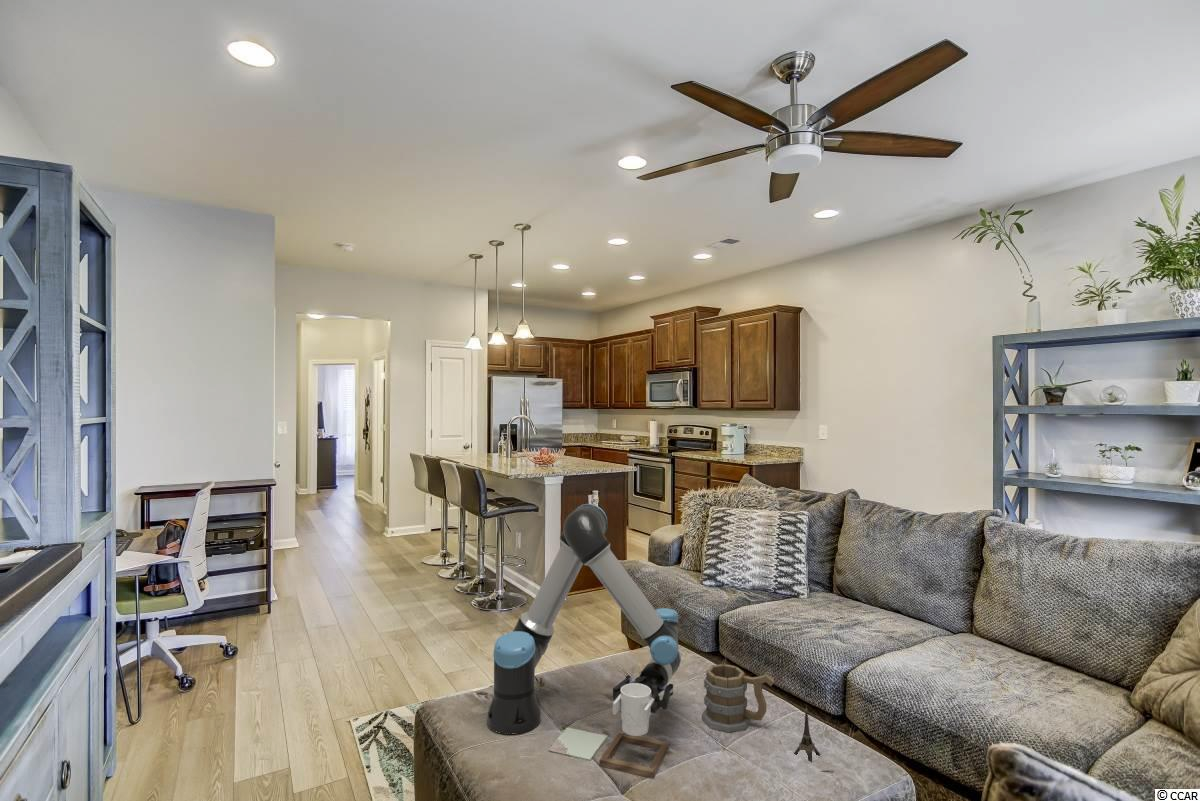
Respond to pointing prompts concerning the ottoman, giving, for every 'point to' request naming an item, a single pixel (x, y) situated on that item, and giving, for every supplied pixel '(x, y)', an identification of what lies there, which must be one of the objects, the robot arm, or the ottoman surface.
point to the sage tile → (581, 743)
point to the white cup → (634, 708)
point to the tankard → (731, 698)
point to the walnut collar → (629, 767)
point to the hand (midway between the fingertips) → (629, 712)
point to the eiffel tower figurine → (807, 742)
